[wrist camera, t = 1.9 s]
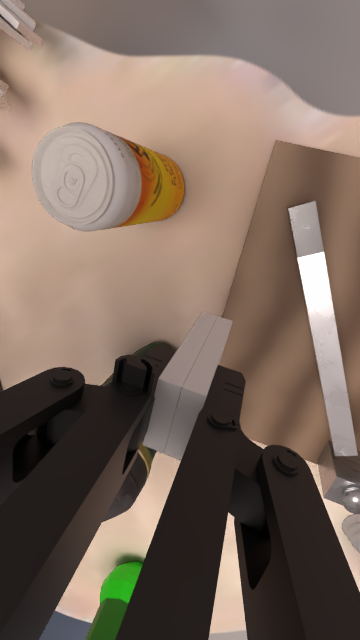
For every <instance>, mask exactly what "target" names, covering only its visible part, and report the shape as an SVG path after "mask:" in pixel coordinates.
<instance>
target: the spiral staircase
mask: <svg viewBox="0 0 360 640" xmlns="http://www.w3.org/2000/svg"><path fill="white" fill-rule="evenodd" d="M24 8H25V5H24V4H23V3H22V2H21V1H20V0H0V29H1V30H3V31H4V32H5V33H7V34H8V35H9V36H11V37H12V38H13V39H15V40H16V41H17V42H19V43H20V44H21V45H23V46H24V47H26V48H27V49H28V50H31V48H32V44H31V43H30V42H29V41H28V40H27V39H26V38H25V37H24V36H23V35H22V34H24V35H25V36H27V37H28V38H30V39H31V40H33V41H34V42H35V43H37V44H38V45H40V46H42V43H43V40H42V39H41V38H40V37H39V36H38V35H37V34H36V33H35V32H34V28H35V26H36V22H35V21H34V20H33V19H32V18H31V17H30V16H29V15H28V14H27V13H26V12H25V11H24ZM23 21H24V22H25V23H26V24H27V25H26V24H25V23H24V22H23ZM19 31H20V32H21V33H22V34H21V33H20V32H19ZM8 87H9V85H8V84H6V83H5V82H4V81H2V80H1V79H0V108H2V109H5V110H8V111H9V110H10V108H11V105H9V104H8V103H7V102H6V101H5V100H4V99H3V98H2V96H3V95H4V94H5V92H6V91H7V89H8Z"/></svg>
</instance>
